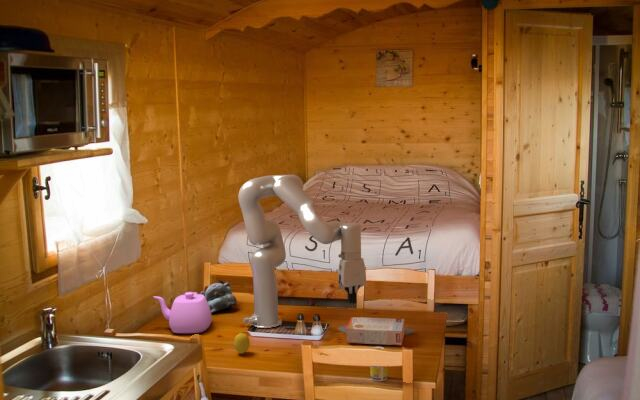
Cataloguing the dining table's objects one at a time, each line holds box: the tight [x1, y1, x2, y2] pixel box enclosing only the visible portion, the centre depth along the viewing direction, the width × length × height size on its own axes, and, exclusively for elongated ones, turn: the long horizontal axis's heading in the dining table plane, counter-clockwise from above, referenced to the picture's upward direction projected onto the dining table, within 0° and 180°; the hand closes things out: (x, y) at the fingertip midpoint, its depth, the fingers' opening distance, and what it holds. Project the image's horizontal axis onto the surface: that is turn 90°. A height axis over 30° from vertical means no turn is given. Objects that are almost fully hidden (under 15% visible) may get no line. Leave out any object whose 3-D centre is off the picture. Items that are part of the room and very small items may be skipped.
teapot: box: [152, 291, 213, 334], centre depth 280 cm, size 23×21×15 cm
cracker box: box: [345, 316, 406, 346], centre depth 262 cm, size 14×6×21 cm
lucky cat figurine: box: [199, 280, 238, 314], centre depth 304 cm, size 15×12×14 cm
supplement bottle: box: [369, 346, 388, 382], centre depth 225 cm, size 6×6×10 cm
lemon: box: [233, 332, 250, 355], centre depth 250 cm, size 6×6×8 cm
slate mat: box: [337, 325, 416, 336], centre depth 272 cm, size 23×20×1 cm
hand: (352, 302), depth 265 cm, fingers closed
